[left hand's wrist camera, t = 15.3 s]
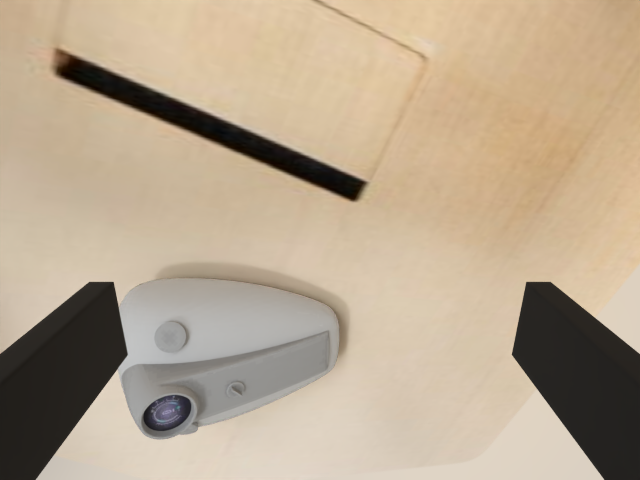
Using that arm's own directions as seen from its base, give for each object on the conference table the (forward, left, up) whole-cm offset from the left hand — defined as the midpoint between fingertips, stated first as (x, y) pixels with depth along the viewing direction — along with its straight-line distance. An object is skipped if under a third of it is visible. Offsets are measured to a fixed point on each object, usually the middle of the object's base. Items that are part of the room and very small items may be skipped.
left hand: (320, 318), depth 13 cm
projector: (-18, -12, -30) cm, 36 cm away
